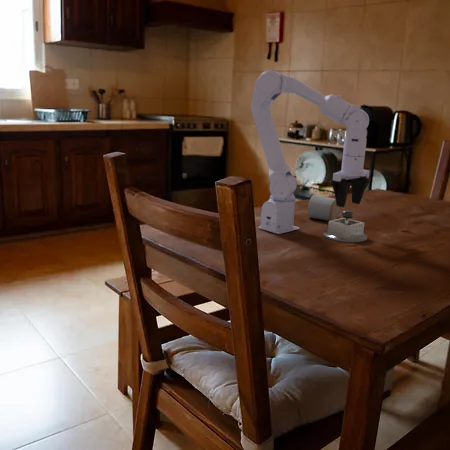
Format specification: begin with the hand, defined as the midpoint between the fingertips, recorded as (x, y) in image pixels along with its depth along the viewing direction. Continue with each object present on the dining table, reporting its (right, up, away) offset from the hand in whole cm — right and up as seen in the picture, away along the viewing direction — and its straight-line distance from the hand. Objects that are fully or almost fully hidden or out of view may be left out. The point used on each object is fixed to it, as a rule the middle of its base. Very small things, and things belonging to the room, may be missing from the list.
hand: (348, 204), depth 140 cm
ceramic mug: (-2, -4, +22) cm, 23 cm away
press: (0, -9, +2) cm, 9 cm away
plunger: (0, -8, +2) cm, 8 cm away
